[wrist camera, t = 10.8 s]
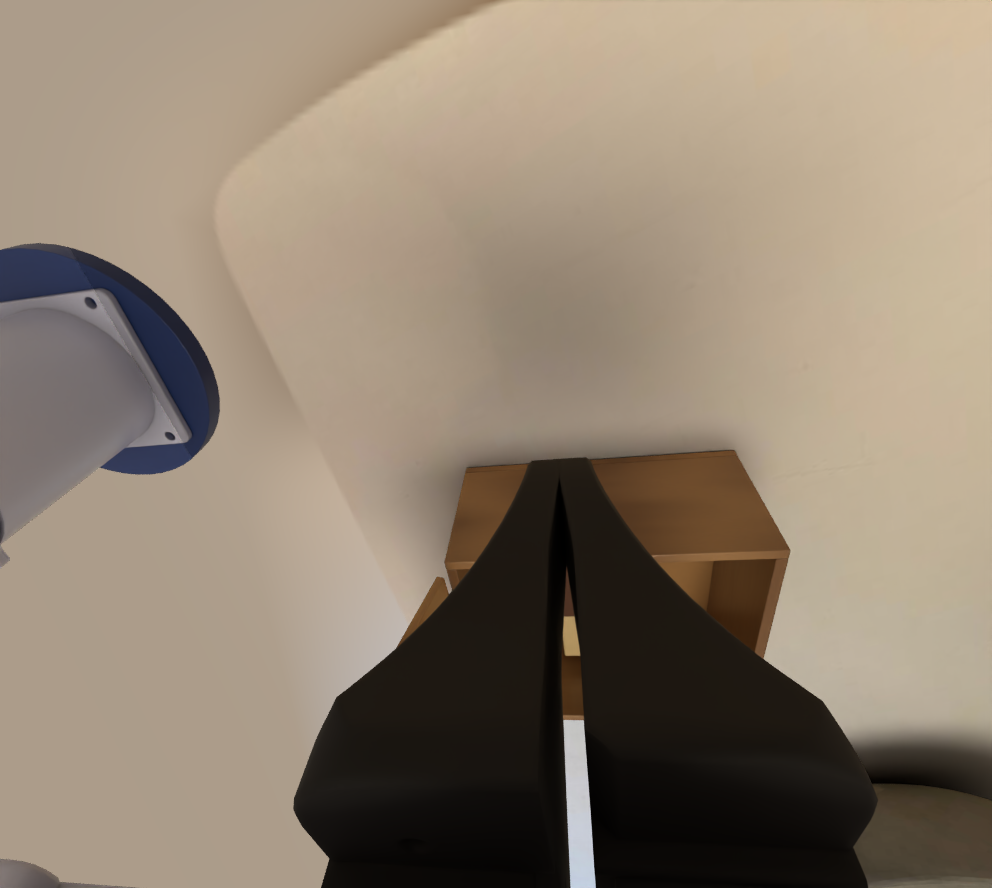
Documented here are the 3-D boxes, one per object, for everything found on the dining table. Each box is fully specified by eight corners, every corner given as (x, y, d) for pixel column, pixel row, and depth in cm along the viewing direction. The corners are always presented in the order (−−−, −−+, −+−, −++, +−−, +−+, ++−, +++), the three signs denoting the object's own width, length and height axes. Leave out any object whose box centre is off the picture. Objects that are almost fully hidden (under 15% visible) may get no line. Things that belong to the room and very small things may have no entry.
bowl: (706, 847, 44) (735, 976, 37) (751, 724, 32) (803, 879, 26) (970, 865, 41) (1051, 1008, 35) (1118, 739, 30) (1281, 916, 23)
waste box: (498, 616, 29) (488, 719, 24) (466, 467, 23) (443, 562, 18) (711, 612, 27) (747, 722, 22) (734, 450, 21) (791, 550, 16)
